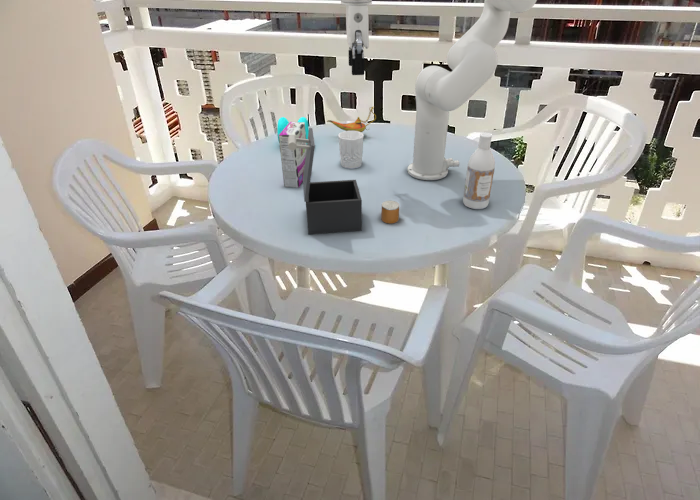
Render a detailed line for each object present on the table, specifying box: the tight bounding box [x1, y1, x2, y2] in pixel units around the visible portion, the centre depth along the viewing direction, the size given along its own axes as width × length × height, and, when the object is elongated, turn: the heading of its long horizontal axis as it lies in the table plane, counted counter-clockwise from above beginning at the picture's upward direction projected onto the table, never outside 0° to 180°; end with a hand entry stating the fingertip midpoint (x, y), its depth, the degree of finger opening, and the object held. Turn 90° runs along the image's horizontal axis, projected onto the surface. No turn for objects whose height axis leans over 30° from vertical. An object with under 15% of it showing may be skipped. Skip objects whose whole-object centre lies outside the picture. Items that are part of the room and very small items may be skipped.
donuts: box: [276, 116, 310, 144], centre depth 167 cm, size 10×10×10 cm
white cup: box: [338, 130, 364, 170], centre depth 153 cm, size 8×8×10 cm
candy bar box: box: [277, 121, 307, 189], centre depth 142 cm, size 11×5×16 cm, turn 168°
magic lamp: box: [326, 106, 377, 133], centre depth 173 cm, size 7×18×11 cm, turn 99°
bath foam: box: [462, 132, 496, 210], centre depth 128 cm, size 7×7×20 cm
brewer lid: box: [288, 127, 316, 203], centre depth 116 cm, size 14×12×6 cm
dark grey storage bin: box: [305, 179, 363, 235], centre depth 124 cm, size 14×12×9 cm
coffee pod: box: [380, 200, 400, 224], centre depth 126 cm, size 5×5×4 cm
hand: (356, 70), depth 127 cm, fingers open, 9 cm apart
